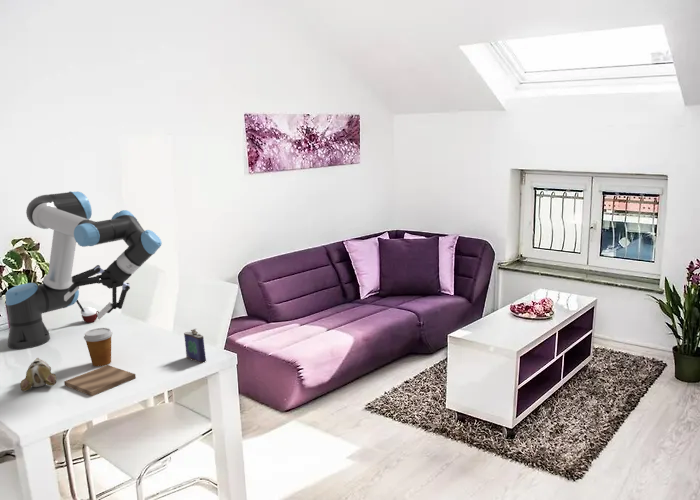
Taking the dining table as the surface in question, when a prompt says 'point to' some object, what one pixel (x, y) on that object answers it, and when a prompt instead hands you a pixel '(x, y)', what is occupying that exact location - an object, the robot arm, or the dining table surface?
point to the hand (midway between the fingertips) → (82, 307)
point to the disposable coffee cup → (99, 346)
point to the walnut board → (99, 380)
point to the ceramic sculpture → (38, 375)
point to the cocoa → (88, 313)
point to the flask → (195, 346)
